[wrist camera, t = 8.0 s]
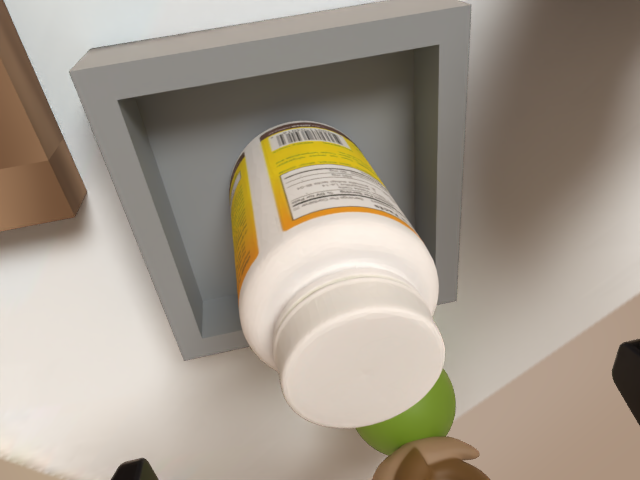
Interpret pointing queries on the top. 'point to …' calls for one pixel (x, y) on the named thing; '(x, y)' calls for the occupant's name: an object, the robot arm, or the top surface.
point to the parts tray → (266, 112)
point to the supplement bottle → (332, 278)
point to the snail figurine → (423, 441)
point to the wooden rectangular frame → (30, 144)
